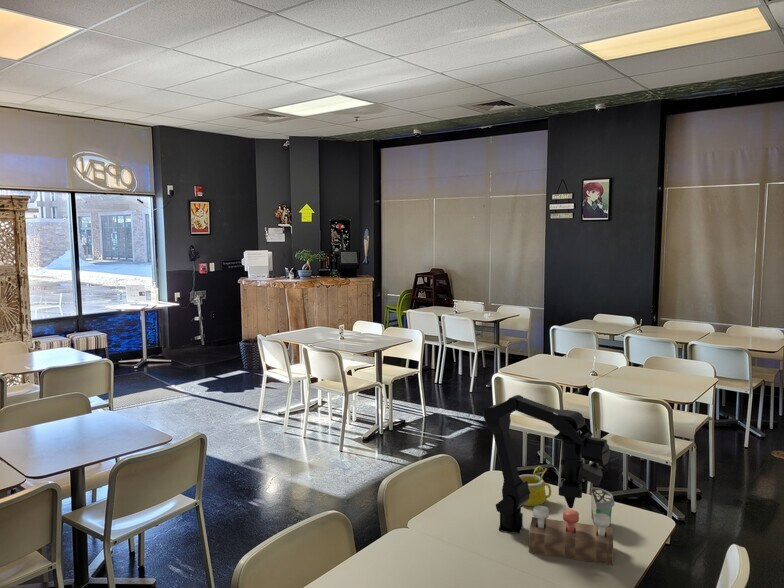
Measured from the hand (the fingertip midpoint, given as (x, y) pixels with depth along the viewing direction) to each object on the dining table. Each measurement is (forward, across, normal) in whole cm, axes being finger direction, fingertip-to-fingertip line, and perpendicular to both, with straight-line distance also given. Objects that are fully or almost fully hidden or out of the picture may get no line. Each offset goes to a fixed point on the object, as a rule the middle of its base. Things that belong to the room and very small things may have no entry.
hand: (570, 507), depth 170 cm
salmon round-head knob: (+9, 0, 0) cm, 9 cm away
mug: (+13, +29, +14) cm, 35 cm away
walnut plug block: (+13, 0, 0) cm, 13 cm away
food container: (+13, +18, -10) cm, 24 cm away
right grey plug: (+9, 0, -9) cm, 13 cm away
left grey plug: (+9, 0, +9) cm, 13 cm away
